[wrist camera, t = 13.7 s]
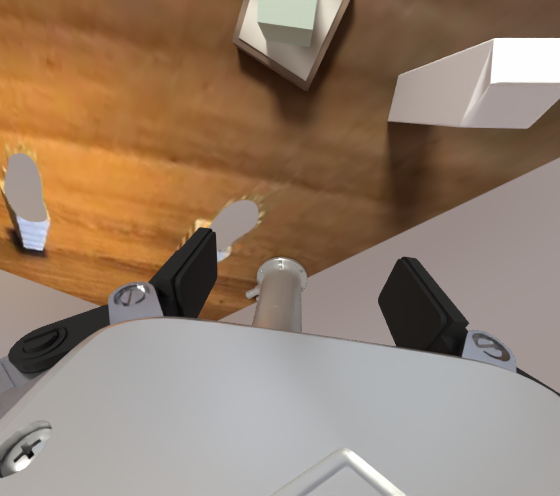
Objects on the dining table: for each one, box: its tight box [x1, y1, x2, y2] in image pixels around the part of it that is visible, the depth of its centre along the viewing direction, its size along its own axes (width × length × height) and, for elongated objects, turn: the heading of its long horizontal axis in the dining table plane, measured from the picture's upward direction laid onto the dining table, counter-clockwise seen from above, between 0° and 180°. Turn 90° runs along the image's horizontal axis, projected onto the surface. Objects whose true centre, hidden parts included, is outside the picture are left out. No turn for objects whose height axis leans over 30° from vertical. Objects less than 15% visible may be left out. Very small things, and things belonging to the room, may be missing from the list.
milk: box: [388, 38, 560, 128], centre depth 24 cm, size 6×6×22 cm
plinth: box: [232, 0, 350, 92], centre depth 29 cm, size 12×12×3 cm
